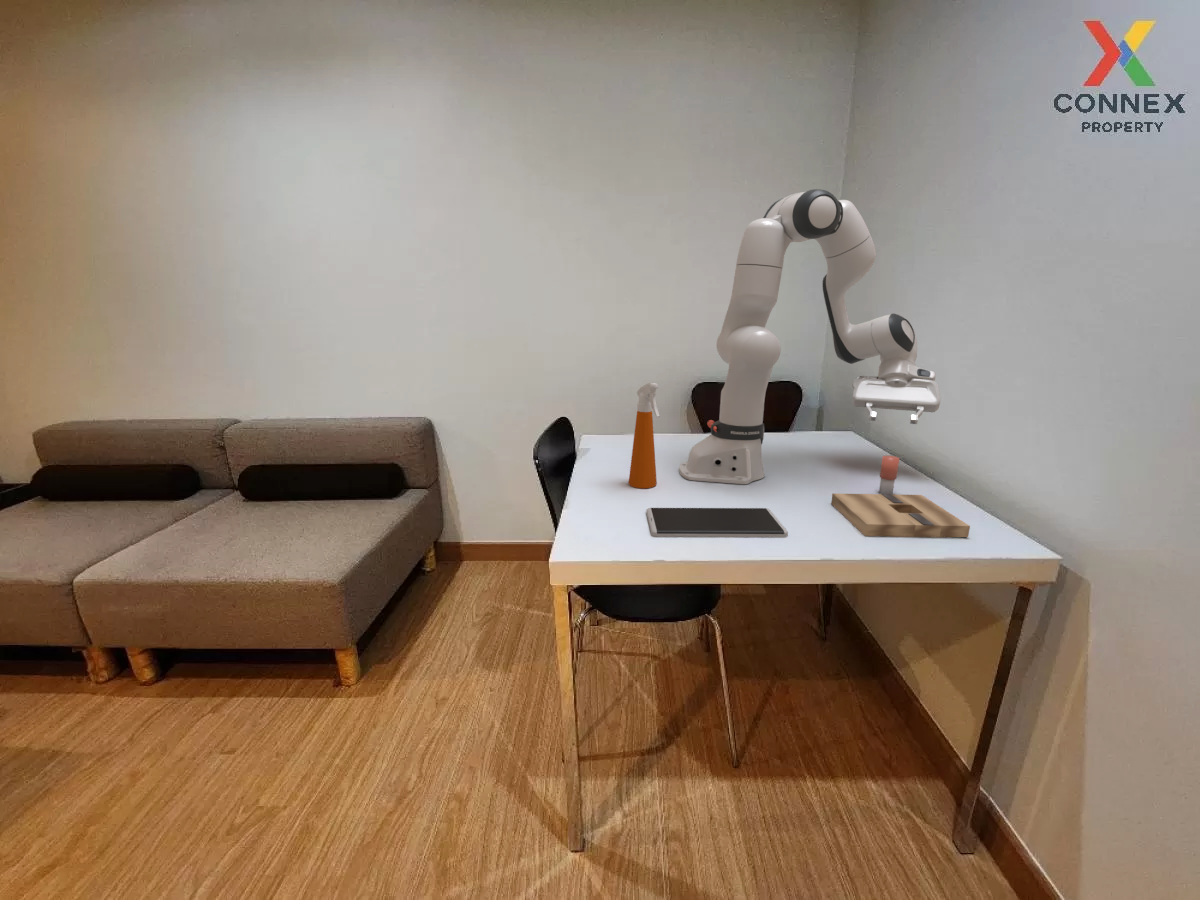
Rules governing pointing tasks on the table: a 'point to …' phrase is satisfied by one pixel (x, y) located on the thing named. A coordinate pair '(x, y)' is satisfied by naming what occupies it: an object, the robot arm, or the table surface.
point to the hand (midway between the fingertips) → (892, 421)
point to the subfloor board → (898, 516)
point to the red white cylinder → (888, 474)
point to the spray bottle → (644, 440)
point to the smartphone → (714, 522)
